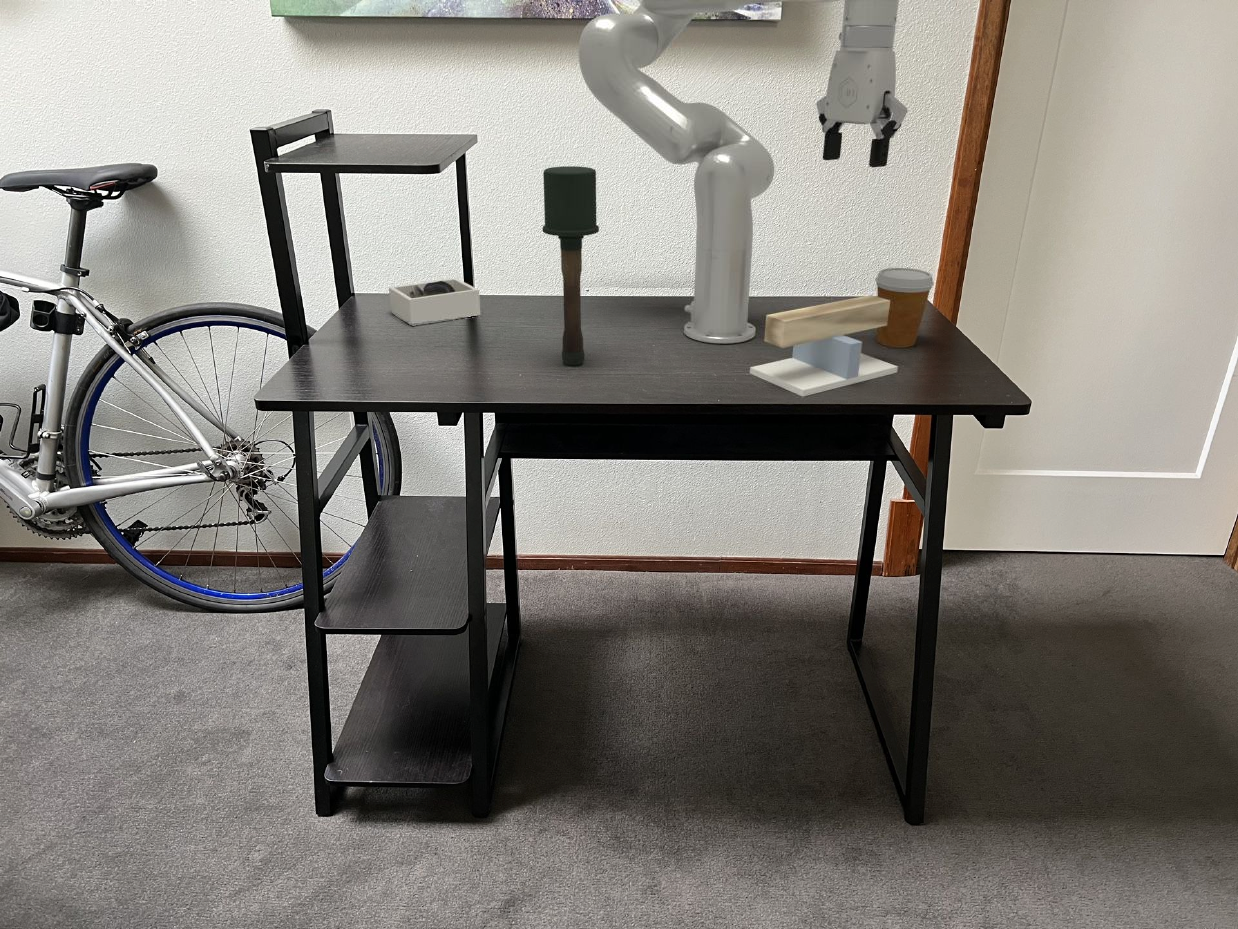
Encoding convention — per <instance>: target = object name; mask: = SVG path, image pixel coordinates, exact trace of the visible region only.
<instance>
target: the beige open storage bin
mask: <svg viewBox="0 0 1238 929" xmlns="http://www.w3.org/2000/svg"><path fill="white" fill-rule="evenodd" d="M438 281H443V282H447V283H449V284H450V285H451V286H452V287H453V288H454V289H455V292H453V293H446V294H439V295H432V296H425V297H419V296H421V295H420V294H419V293H418V292H417V290H416V288H415V285H417V286H418V287H419V288H420V289H421V290H423V289H424V287H425V286H426V284H428V283H433V282H438ZM388 291H389V292H388V295H389V303H390V310H391V309H392V310H394V311H395V312H396V313H398V314H399V315H401V316H402V317H403V318H404V319H406V320H407V321H409V322H410V323H412V324H413V323H422V322H427V321H438V320H444V319H455V318H458V317H471V316H477V315H481V316H482V314H481V313H482V312H481V299H480V289H478V288H476V287H474V286H472V285H470V284H469V283H467V282H465V281H462V280H461V279H459V278H456V277H455V278H448V279H441V280H440V279H439V280H432V281H427V282H426V281H425V282H417V283H411V284H404V285H395V286H389V287H388ZM412 291H413V292H414V294H415V295H416V297H418V298H416V297H415V298H410V297H409V296H410V293H409V292H412ZM423 291H424V290H423ZM407 294H408V295H409V296H407Z"/></svg>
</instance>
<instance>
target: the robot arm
mask: <svg viewBox="0 0 1238 929" xmlns="http://www.w3.org/2000/svg"><path fill="white" fill-rule="evenodd" d="M801 1H802V2H803V1H804V2H815V3H833V2H840V1H841V0H638V2H639V6H638V7H637V8H636V10H635V11H634V12H632V13H619V12H618V13H617V12H616V13H615V12H614V13H605V14H602V15H598V16H596V17H595V18H593V19H591V20H590V21H589V22H588V23H587V24H586V26H585V27H584V28H583V30H582V32H581V34H580V39H579V43H578V62H579V69H580V71H581V76H582V78H583V80H584V82H585V84H586V86H587V88H588V89H589V91H590V93H591V94H592V95H593V96H594V97H595V99H596V101H598V102H599V103H600V104H601V105H602V106H603V107H605V109H607V110H608V111H609V112H610V113H611V114H613V115H614V116H615V117H617V119H619V120H620V121H621V122H622V123H623V124H625V125H626V126H627V127H628V129H630V130H631V131H632V132H633V133H634V134H636V135H637V137H639V138H640V139H641V140H643V141H644V142H645V143H646V144H647V145H648V146H649V147H650V148H652V149H653V150H654V151H655V152H656V153H657V154H659V156H661V157H662V158H663V159H664V160H665V161H666V162H669V163H670V164H673V165H681V166H682V165H688V164H692V163H697V164H698V165H697V166H696V167H697V168H696V170H695V173H694V180H693V191H694V201H695V210H696V212H695V213H696V237H695V238H696V239H695V240H696V241H695V245H696V246H695V265H694V267H695V268H694V270H695V272H694V288H693V289H694V293H693V294H694V295H693V300H692V301H691V302H690V304H687V305H685V306H684V312H686V313H688V314H690V321H688V322H687V323H686V324H685V325H684V326H683V327H684V329H683V333H684V334H685V336H687V337H688V338H690V339H692V340H695V341H698V342H704V343H709V344H735V343H736V344H737V343H742V342H747V341H749V340H752V339H753V338H755V336H756V327H755V326H754V325H753V324H752V323H750V322H748V318H749V317H748V316H749V301H750V300H749V299H750V289H751V288H750V285H751V272H752V255H753V253H752V252H753V238H754V220H753V219H754V218H753V211H752V199H755V198H757V197H758V196H761V195H762V194H763V193H765V192H766V191H767V190H768V189H769V187H770V186H771V185H772V183H773V180H774V176H775V164H774V160H773V157H772V155H771V153H770V152H769V151H768V149H767V148H766V147H765V146H764V144H762V143H761V142H760V141H759V140H758V139H756V138H755V137H754V136H753V135H751V133H749V132H748V131H747V130H746V129H744V128H743V127H742V126H741V125H739V124H738V123H737V122H736V121H735V120H734V119H733V118H731V117H730V116H729V115H728V114H726V113H725V112H724V111H723V110H721V109H719V108H718V107H717V106H714V105H712V104H709V103H706V102H684V101H682V100H680V99H679V98H677V97H676V96H674V95H673V94H672V93H671V92H669V91H668V90H667V89H665V88H664V86H662V85H661V83H659V82H658V81H657V80H655V79H654V78H652V77H651V76H649V75H647V74H646V73H644V72H643V71H641V70H640V69H643V68H645V67H648V66H650V65H651V64H654V62H656V61H657V60H658V59H659V58H660V57H661V56H662V55H663V54H664V52H666V50H667V49H668V48H669V46H670V45H672V43H673V42H674V41H675V39H677V37H678V36H679V35H680V34H681V33H682V32H683V30H684V29H685V28H686V27H687V25H688V24H689V23H690V22H691V21H692V19H693V18H694V17H695V15H696V14H702V13H706V14H707V13H720V12H721V13H722V12H723V13H724V12H733V11H734V12H735V11H738V10H739V9H740V8H742V7H744V6H748V5H756V4H763V3H765V4H767V3H781V2H801ZM899 1H900V0H844V3H843V4H844V7H843V13H842V14H843V15H842V27H841V32H840V33H839V35H838V40H839V41H840V47H839V50H835V54H834V57H833V60H832V64H831V68H830V72H829V77H828V83H827V88H826V95H824V96H823V97H822V98H820V99H819V100H817V102H816V104H815V106H816V110H817V114H818V120H819V122H820V124H821V131H822V133H823V134H824V140H823V141H824V142H823V150H822V160H823V161H836V160H837V161H838V160H839V159H840V158H841V153H842V152H841V151H842V141H843V132H841V131H840V130H842V128H843V126H844V125H845V124H853V125H870V127H871V130H872V132H873V133H874V137H875V138H872V139H871V144H870V153H869V159H868V160H869V161H868V167H870V168H880V167H881V168H882V167H886V166H887V165H888V159H889V158H888V156H889V150H890V142H891V139H893V138H895V134H896V133H897V132H898V130H900V128H901V127H902V123H903V122H904V119H905V117H906V115H907V114H908V107H907V106H905V105H904V104H903V102H901V101H900V100H899V99H897V98H896V97H895V96H896V84H897V83H896V79H897V71H896V70H897V67H896V66H897V64H896V63H897V62H896V60H897V59H896V52H895V50H894V42H895V37H896V36H895V35H896V34H895V33H896V25H897V17H898V10H899V9H898V8H899Z"/></svg>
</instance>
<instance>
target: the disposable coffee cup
mask: <svg viewBox="0 0 1238 929" xmlns="http://www.w3.org/2000/svg"><path fill="white" fill-rule="evenodd" d="M874 281H875V282H876V286H877V295H876V297H880V298H883V299H887V300H890V307H889V314H888V321H887V325H886V326H882V327H877V328H876V329H877V339H876V342H878V344H880V345H881V346H886V347H890V348H902V349H903V348H910V347H913V346H915V344H916V340H917V337H918V333H919V329H920V326H921V324H922V320H923V316H924V312H925V308H926V305H927V302H928V299H929V295H930V290H932V288H933V286H934V284H935V282H934V281H933V274H932V273H930V272H929V271H926V270H922V269H917V268H910V267H888V268H887V267H886V268H883V269H880V270H879V272H878V274H877V277H875V279H874Z"/></svg>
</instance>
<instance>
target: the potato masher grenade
mask: <svg viewBox="0 0 1238 929" xmlns="http://www.w3.org/2000/svg"><path fill="white" fill-rule="evenodd" d="M543 203H544V204H543V206H544V207H543V208H544V224H543V226H542V232H543V233H544V234H546V235H549V236H556V237H557V238H558V239H559V245H560V246H559V247H560V259H561V260H560V262H561V263H560V268H561V269H560V270H561V273H562V274H561V275H562V283H563V284H562V286H563V288H562V289H563V290H562V291H563V333H562V351H561V360H562V362H563V364H565V365H567V366H580V365H582V364H583V363H584V360H585V356H586V354H585V350H584V336H583V332H582V315H581V314H582V313H581V312H582V310H581V309H582V307H581V306H582V305H581V302H582V300H581V298H582V297H581V295H582V294H581V276H582V272H583V271H582V270H583V265H582V264H583V262H582V260H583V259H582V257H583V256H582V254H583V253H582V251H583V250H582V249H583V239H584V236H590V235H591V236H592V235H594V234H598V233H599V232H600V226H599V225H597V171H596V169H595V168H592V167H585V166H574V165H573V166H571V165H569V166H568V165H567V166H553V167H547V168H545V169H544V170H543Z"/></svg>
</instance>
